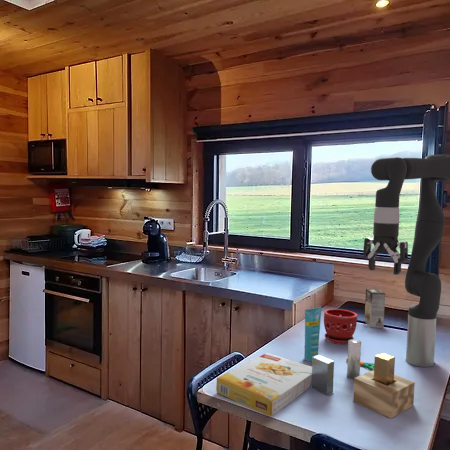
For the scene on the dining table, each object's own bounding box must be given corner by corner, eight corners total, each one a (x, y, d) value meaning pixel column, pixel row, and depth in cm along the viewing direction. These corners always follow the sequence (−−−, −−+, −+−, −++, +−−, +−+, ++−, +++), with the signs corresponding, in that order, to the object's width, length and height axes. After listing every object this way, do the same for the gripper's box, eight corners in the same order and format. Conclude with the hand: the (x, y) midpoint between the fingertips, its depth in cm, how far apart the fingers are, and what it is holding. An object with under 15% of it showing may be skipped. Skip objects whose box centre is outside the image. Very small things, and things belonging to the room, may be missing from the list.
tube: (308, 363, 153) (310, 311, 151) (299, 358, 157) (300, 307, 155) (323, 359, 157) (325, 308, 155) (313, 354, 161) (315, 304, 159)
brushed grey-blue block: (317, 385, 136) (318, 354, 135) (332, 392, 131) (334, 361, 130) (311, 387, 134) (312, 357, 133) (326, 395, 129) (327, 363, 128)
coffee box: (363, 321, 203) (365, 288, 201) (377, 321, 203) (378, 288, 201) (370, 327, 193) (371, 292, 192) (384, 327, 193) (385, 293, 192)
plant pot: (355, 348, 168) (356, 318, 167) (321, 343, 172) (322, 314, 171) (356, 337, 180) (357, 309, 179) (324, 333, 184) (325, 306, 183)
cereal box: (215, 377, 129) (266, 350, 151) (214, 394, 129) (265, 365, 151) (272, 399, 116) (319, 366, 138) (272, 419, 117) (318, 383, 139)
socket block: (376, 389, 133) (377, 368, 133) (413, 405, 124) (414, 382, 123) (353, 401, 126) (354, 378, 125) (390, 418, 116) (391, 394, 116)
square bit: (380, 391, 128) (382, 352, 127) (393, 396, 124) (395, 357, 123) (372, 395, 125) (374, 355, 124) (385, 400, 122) (387, 360, 121)
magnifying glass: (392, 370, 148) (392, 366, 148) (387, 377, 144) (387, 372, 143) (349, 359, 157) (350, 355, 157) (343, 365, 152) (344, 360, 152)
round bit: (351, 373, 145) (353, 338, 144) (362, 377, 142) (363, 342, 141) (344, 376, 143) (345, 341, 142) (354, 380, 140) (356, 344, 139)
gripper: (414, 222, 131) (411, 274, 133) (373, 219, 143) (371, 267, 144) (401, 223, 127) (398, 277, 128) (359, 220, 138) (357, 269, 139)
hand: (383, 272), depth 136 cm, fingers open, 8 cm apart
